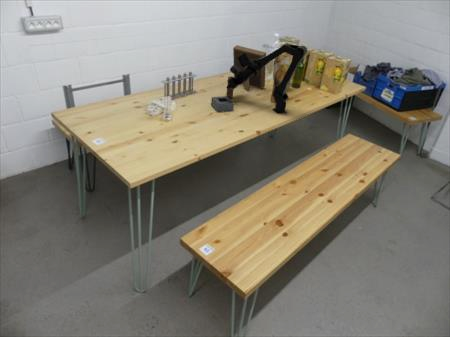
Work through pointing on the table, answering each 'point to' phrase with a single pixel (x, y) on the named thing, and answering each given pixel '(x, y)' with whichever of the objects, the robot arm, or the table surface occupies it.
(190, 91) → the test tube rack
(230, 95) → the walnut pin
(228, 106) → the bore block
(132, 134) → the table surface
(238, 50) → the photo frame
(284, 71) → the pancake mix bag
